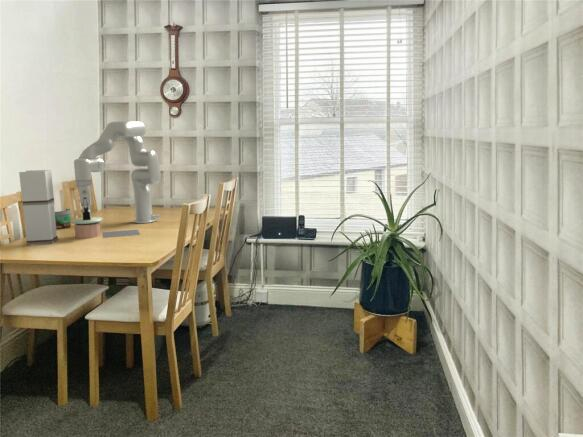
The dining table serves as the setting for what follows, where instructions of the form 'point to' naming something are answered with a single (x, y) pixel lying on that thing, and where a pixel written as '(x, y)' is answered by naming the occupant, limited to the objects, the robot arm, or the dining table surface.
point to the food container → (63, 219)
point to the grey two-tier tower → (38, 206)
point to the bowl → (87, 230)
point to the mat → (120, 233)
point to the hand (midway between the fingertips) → (86, 218)
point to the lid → (92, 220)
